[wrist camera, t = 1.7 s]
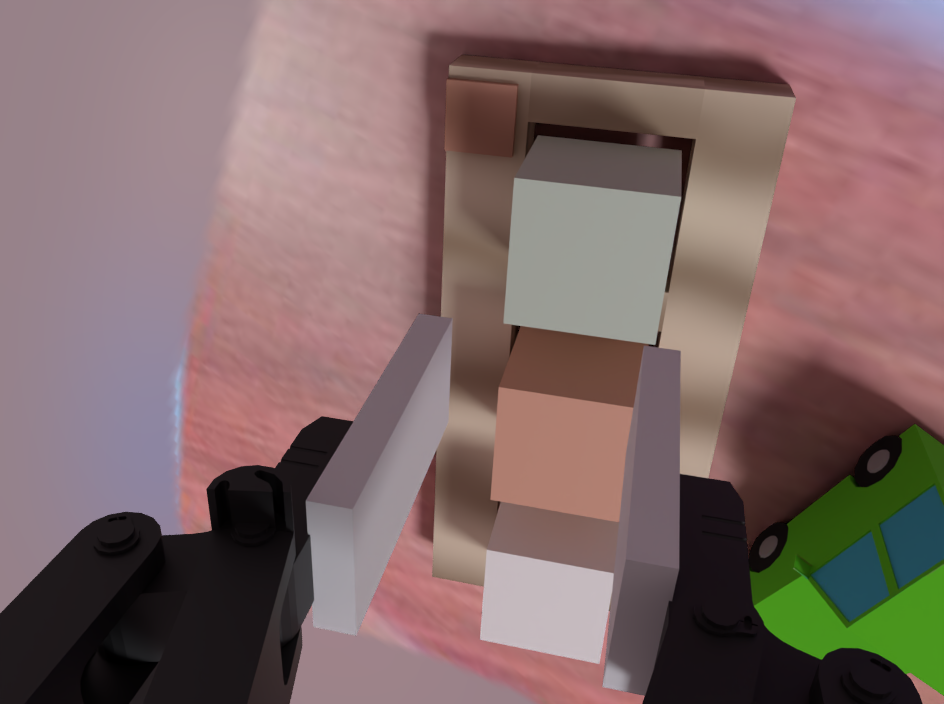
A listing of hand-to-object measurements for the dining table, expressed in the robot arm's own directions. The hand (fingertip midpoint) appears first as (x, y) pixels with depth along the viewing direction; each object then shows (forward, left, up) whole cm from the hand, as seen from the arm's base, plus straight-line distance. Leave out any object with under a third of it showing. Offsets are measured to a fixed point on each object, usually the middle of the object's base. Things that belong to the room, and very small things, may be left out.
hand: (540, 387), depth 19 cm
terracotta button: (+12, 0, -20) cm, 23 cm away
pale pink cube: (+21, 0, -20) cm, 29 cm away
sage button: (+3, 0, -20) cm, 20 cm away
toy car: (+20, +16, -23) cm, 34 cm away
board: (+12, 0, -23) cm, 26 cm away
